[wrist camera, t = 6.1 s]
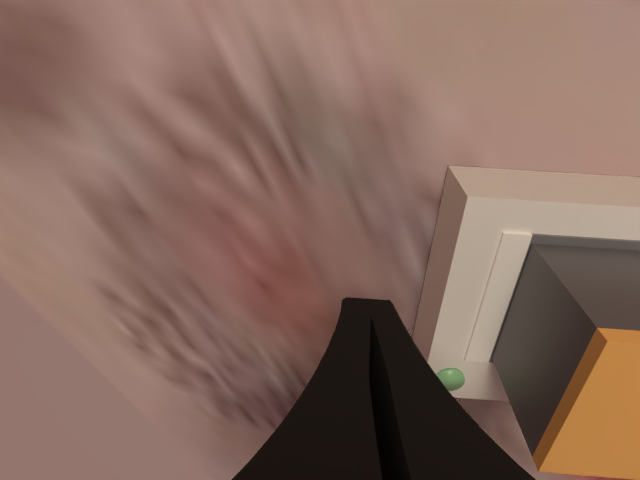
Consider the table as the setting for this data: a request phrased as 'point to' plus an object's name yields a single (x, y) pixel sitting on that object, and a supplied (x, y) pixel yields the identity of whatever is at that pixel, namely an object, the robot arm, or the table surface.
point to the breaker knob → (576, 359)
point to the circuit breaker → (505, 257)
